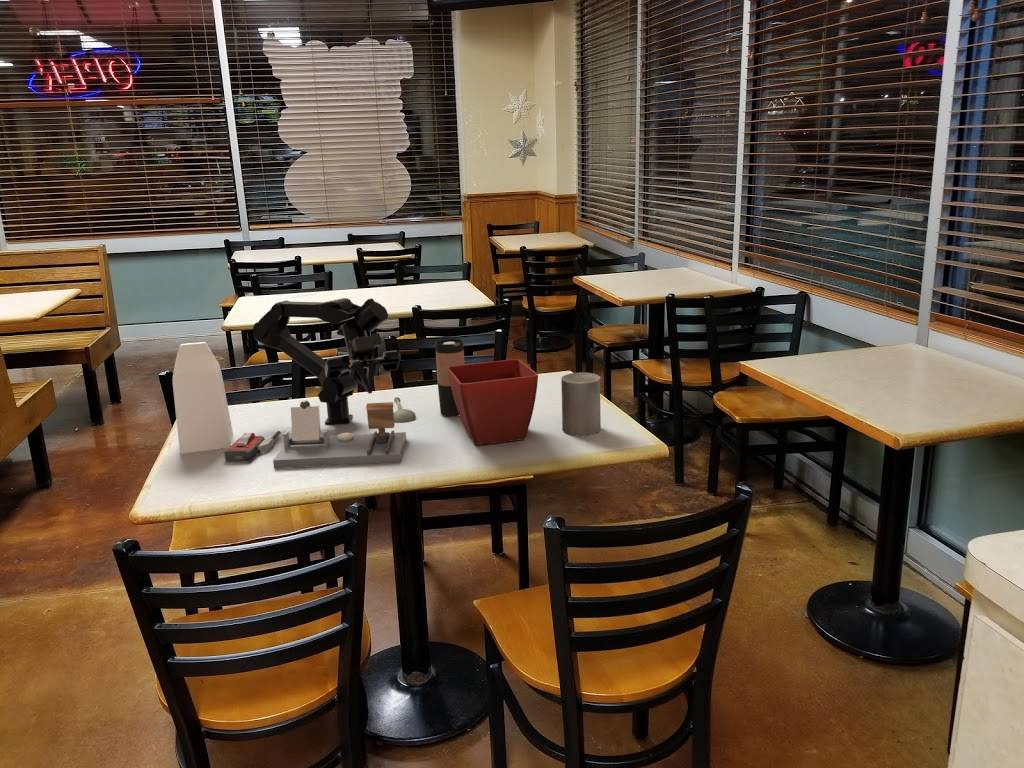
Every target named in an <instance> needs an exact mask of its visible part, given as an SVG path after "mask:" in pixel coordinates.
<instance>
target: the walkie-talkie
mask: <svg viewBox="0 0 1024 768" xmlns="http://www.w3.org/2000/svg"><path fill="white" fill-rule="evenodd" d="M280 435H281V431H280V430H277V431H276V432H275V433H274V434H273V435H272V436H271V438H266V437H265V436H263V435H255V433H254V432H245V433H243V434H242V435H241V436H240V437H239V438H237V440H236V441H234V442H232V445H231V446H230V447H229V448H226V450H225V451H224V452H223V454H224V462H226V463H245V462H246V463H247V462H248V463H249V462H252V461H253V460H254V459H255V458H256V457H257V456H258V455H262V454H264V453H263V452H265V453H267V452H266V451H268V452H269V451H270V450H271V449H272V448H273V447H274V446H275V443H274V442H275V441H276V439H277V438H278V437H279V436H280ZM272 446H273V447H272ZM261 453H262V454H261ZM257 454H258V455H257Z"/></svg>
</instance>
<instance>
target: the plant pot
mask: <svg viewBox="0 0 1024 768" xmlns="http://www.w3.org/2000/svg"><path fill="white" fill-rule="evenodd" d="M447 371H448V376H449V381H450V385H451V389H452V393H453V396H454V400H455V403H456V406H457V410H458V413H459V415H460V416H459V418H460V421H461V423H462V426H463V428H464V431H465V432H466V434H467V436H468V437H469V438H470V440H471V441H472V443H473V444H474V445H475V446H481V445H482V446H483V445H488V444H489V445H490V444H498V443H499V444H500V443H505V442H506V443H507V442H512V441H515V442H516V441H520V440H521V441H522V440H525V439H526V437H527V434H528V431H529V427H530V424H531V420H532V418H533V417H532V416H533V412H534V409H535V402H536V397H537V392H538V391H537V390H538V382H539V374H538V373H537V372H536V371H534V370H533V369H532V368H531V367H529V365H527V364H526V363H524V362H523V361H522V360H521V359H518V358H516V359H513V358H512V359H505V360H504V359H503V360H495V361H485V362H477V363H476V362H475V363H474V362H473V363H465V365H457V366H449V367H447Z"/></svg>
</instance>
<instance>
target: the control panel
mask: <svg viewBox="0 0 1024 768" xmlns="http://www.w3.org/2000/svg"><path fill="white" fill-rule="evenodd" d="M322 433H323V435H321V437H324V444H310V445H290V444H289V439H292V437H290V432H289V430H287V431H284V432H283V433H282V439H283V446H282V447H281V449H280V450H279V451H278V453H277V454H276V455H275V457H274V458H273V460H272V463H273V469H286V468H285V467H294V468H307V467H306V466H314V467H328V466H327V465H334V466H349V465H348V464H354V465H367V464H366V463H374V464H390V463H392V462H393V463H401V461H400V460H402V456H403V454H404V450H405V446H406V442H407V432H406V431H403V432H401V431H399V432H395V430H391V432H389V440H388V442H382V443H376V435H377V433H378V431H377V430H376V431H374V432H373V433H361V434H353V433H352V432H343V433H339V434H337V435H330V432H329V429H327V428H326V429H325V428H324V431H323V432H322ZM402 453H403V454H402ZM393 463H392V464H393ZM345 464H347V465H345ZM323 465H324V466H323ZM325 465H326V466H325Z"/></svg>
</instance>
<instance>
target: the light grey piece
mask: <svg viewBox="0 0 1024 768" xmlns="http://www.w3.org/2000/svg"><path fill="white" fill-rule="evenodd" d="M320 414H321V413H320V405H314V406H313V405H312V406H311V404H310V401H308V400H302V401H301V402H300V403H299V406H294V407H293V406H291V407H290V416H291V417H290V418H291V421H290V422H291V436H292V437H291V438H292V439H289V444H290V445H310V444H324V437H321V436H322V434H321V417H320V416H321V415H320Z"/></svg>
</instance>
